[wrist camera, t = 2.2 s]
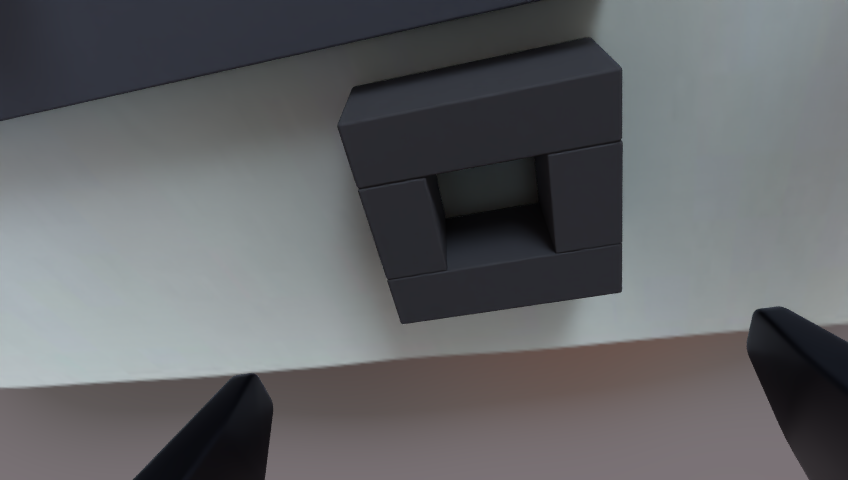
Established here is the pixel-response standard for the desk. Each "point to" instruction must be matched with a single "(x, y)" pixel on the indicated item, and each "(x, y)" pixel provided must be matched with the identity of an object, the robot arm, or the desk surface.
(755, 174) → the desk surface
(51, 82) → the base pad
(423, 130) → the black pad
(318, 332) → the desk surface
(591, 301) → the desk surface
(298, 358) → the desk surface
